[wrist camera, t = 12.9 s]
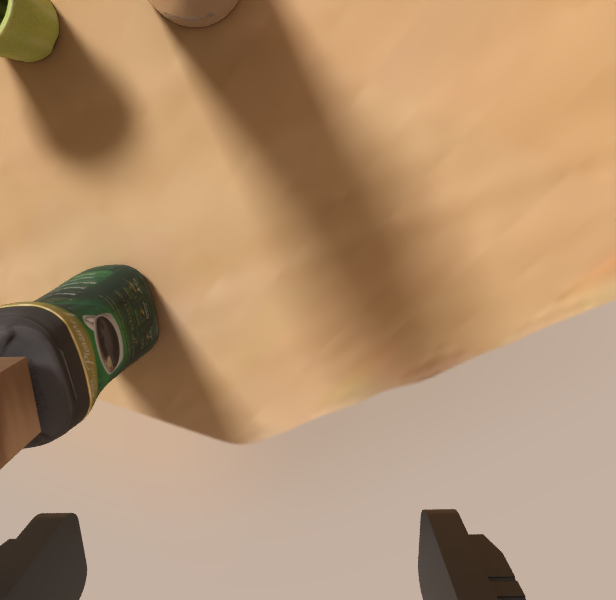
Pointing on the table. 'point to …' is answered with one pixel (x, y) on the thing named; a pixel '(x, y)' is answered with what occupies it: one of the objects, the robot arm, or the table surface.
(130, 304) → the coffee jar
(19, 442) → the walnut block
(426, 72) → the table surface
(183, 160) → the table surface
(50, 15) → the plant pot
